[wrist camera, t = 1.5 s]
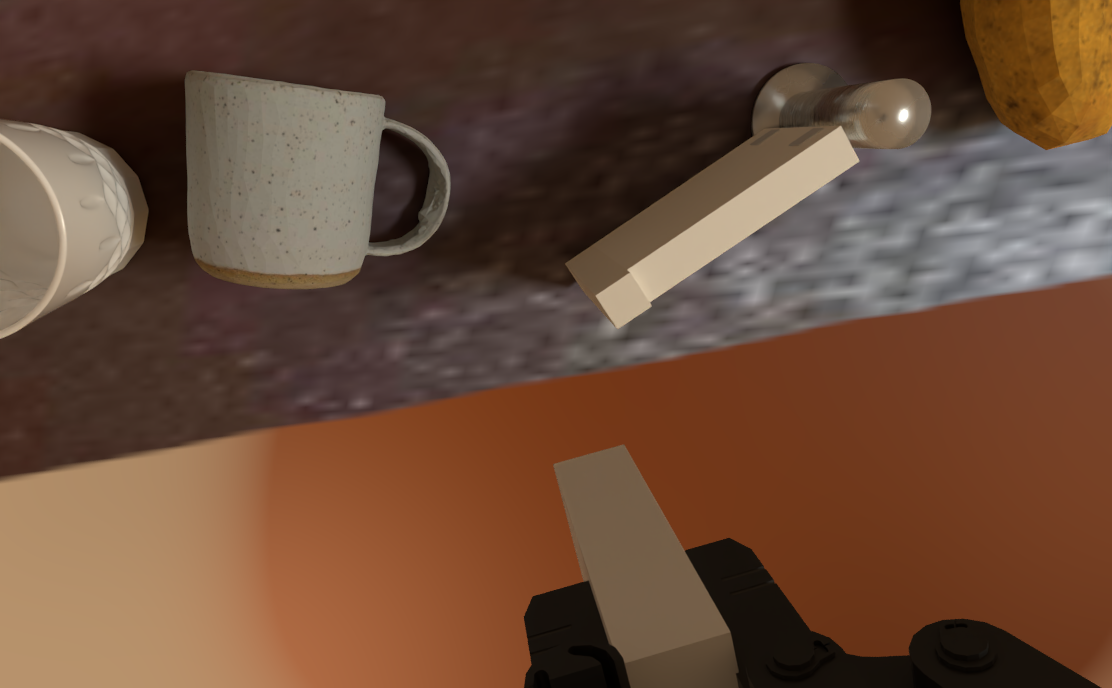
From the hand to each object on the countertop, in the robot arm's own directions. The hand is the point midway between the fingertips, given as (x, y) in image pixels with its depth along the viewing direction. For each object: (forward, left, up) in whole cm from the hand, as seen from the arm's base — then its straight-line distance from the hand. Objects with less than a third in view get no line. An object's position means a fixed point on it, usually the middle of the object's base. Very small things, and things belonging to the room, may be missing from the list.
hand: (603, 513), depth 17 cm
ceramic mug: (-8, -7, -25) cm, 27 cm away
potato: (-8, +27, -25) cm, 37 cm away
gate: (-2, +9, -24) cm, 25 cm away
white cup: (-9, -18, -25) cm, 32 cm away
